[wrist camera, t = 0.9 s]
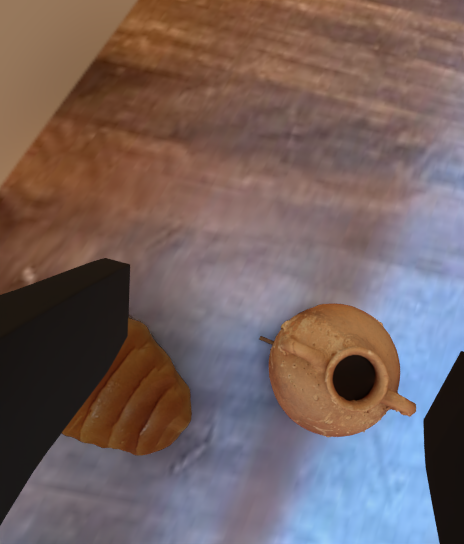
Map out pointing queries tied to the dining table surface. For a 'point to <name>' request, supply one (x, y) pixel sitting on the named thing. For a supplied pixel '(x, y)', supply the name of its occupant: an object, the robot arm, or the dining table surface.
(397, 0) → the dining table surface
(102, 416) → the pastry
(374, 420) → the pot
